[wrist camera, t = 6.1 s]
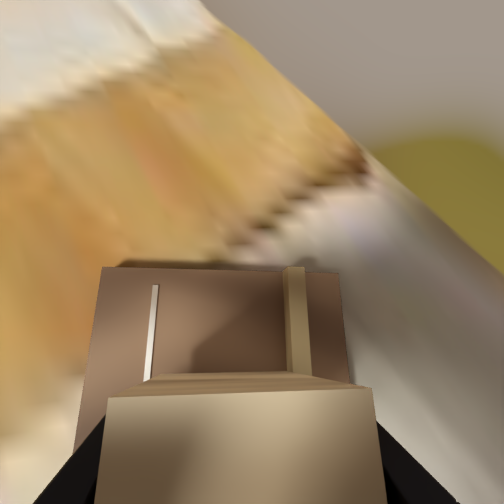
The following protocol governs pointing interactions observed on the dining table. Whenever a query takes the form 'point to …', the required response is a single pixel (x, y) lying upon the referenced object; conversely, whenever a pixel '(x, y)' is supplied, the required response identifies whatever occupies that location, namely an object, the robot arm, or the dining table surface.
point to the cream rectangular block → (241, 441)
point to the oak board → (209, 328)
